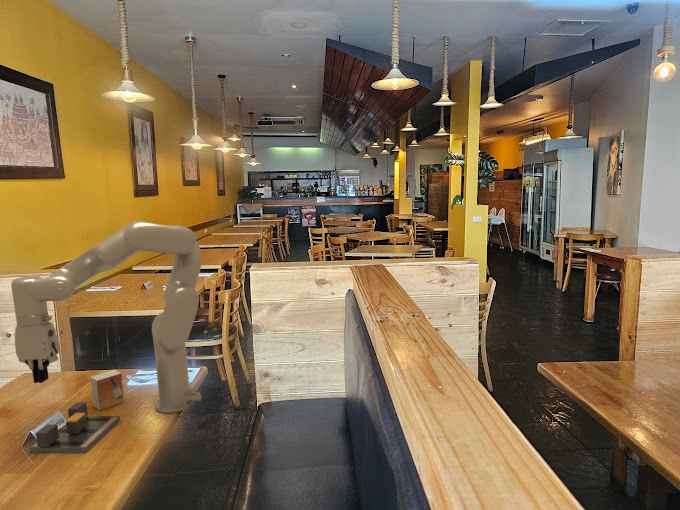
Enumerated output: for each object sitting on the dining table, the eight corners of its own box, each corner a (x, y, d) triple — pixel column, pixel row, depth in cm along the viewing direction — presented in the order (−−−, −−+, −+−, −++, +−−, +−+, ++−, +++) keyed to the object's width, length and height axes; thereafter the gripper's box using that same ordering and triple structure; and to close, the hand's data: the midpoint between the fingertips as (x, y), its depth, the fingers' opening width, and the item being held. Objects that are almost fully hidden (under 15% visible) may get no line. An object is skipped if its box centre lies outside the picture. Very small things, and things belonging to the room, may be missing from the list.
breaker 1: (59, 437, 124) (57, 424, 124) (47, 446, 120) (46, 433, 119) (49, 437, 125) (47, 424, 124) (37, 446, 120) (35, 433, 120)
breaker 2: (87, 414, 137) (86, 402, 137) (78, 421, 133) (77, 409, 132) (78, 414, 137) (77, 402, 137) (69, 421, 133) (67, 409, 132)
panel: (120, 420, 137) (119, 415, 136) (85, 453, 120) (85, 447, 120) (71, 420, 138) (70, 415, 137) (30, 452, 121) (29, 447, 121)
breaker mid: (87, 425, 130) (85, 412, 130) (77, 433, 126) (75, 420, 125) (77, 425, 131) (75, 412, 130) (67, 433, 126) (65, 420, 126)
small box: (99, 411, 143) (95, 381, 141) (93, 406, 147) (89, 376, 145) (124, 402, 149) (121, 373, 147) (118, 397, 152) (115, 368, 151)
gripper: (67, 315, 127) (75, 375, 130) (17, 316, 128) (26, 375, 131) (48, 323, 120) (57, 387, 122) (-4, 324, 121) (6, 386, 123)
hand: (41, 380), depth 127 cm, fingers closed
